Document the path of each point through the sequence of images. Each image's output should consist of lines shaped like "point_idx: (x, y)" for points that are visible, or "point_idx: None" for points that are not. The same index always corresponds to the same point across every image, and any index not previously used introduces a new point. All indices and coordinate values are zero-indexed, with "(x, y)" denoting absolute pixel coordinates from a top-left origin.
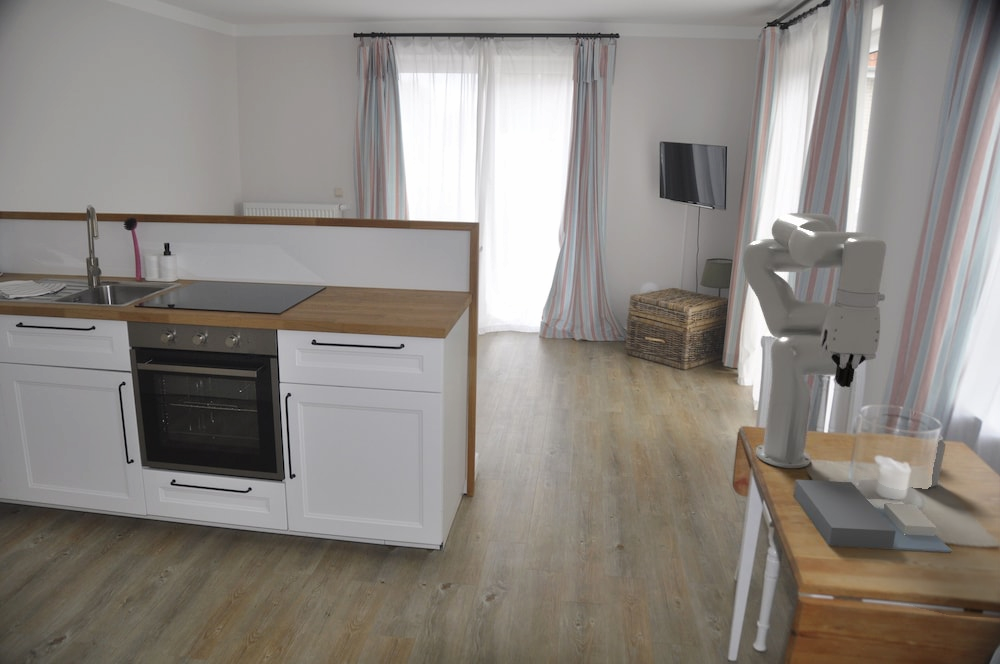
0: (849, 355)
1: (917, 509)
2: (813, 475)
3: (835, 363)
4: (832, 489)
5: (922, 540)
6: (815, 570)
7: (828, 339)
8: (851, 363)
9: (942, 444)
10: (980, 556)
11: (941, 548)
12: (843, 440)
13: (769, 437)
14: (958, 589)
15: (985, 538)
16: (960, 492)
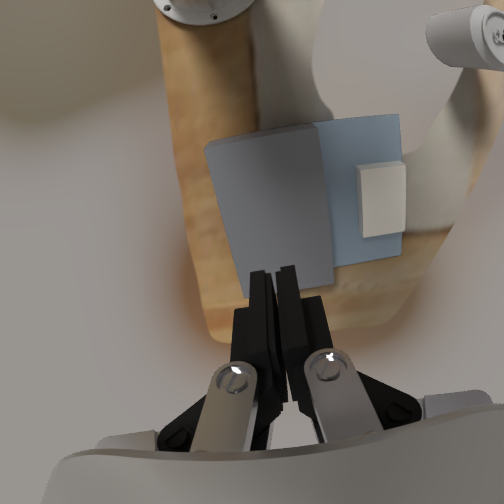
0: (321, 429)
1: (404, 181)
2: (261, 38)
3: (217, 375)
4: (271, 171)
5: (377, 239)
6: (222, 327)
7: None
8: (312, 423)
9: None
10: (427, 252)
11: (391, 253)
12: None
13: None
14: (365, 319)
15: (457, 207)
16: (487, 74)
